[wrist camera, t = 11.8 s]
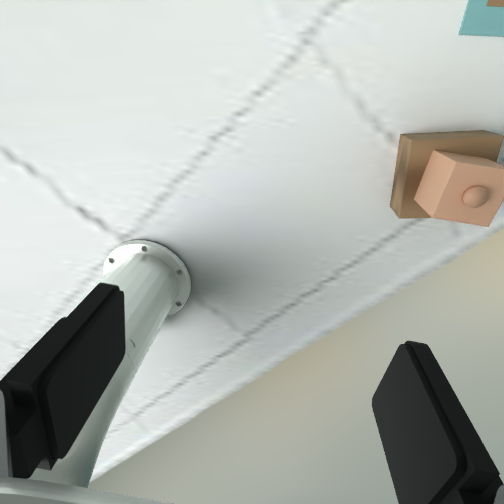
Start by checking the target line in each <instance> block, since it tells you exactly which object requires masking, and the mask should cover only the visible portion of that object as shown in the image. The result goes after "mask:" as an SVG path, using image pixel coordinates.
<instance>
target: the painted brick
mask: <svg viewBox="0 0 504 504" xmlns="http://www.w3.org/2000/svg"><path fill="white" fill-rule="evenodd" d="M503 199H504V165H501V164H499V163H497V162H494V161H492V160H489V159H487V158H482V157H476V156H469V155H463V154H456V153H450V152H443V151H436V150H433V152H432V154H431V157H430V159H429V162H428V164H427V167H426V169H425V172H424V174H423V177H422V180H421V182H420V185H419V187H418V190H417V192H416V195H415V197H414V200H415V201H416V202H417V203H418V204H419V205H420V206H421V207H422V208H423V209H424V210H425V211H426V212H427V213H428V214H429V215H430V216H431V217H432V218H437V219H443V220H449V221H455V222H461V223H468V224H474V225H480V226H486V227H489V225H490V223H491V221H492V219H493V218H494V216H495V214H496V212H497V210H498V208H499V206H500V205H501V203H502V201H503Z"/></svg>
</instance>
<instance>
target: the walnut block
mask: <svg viewBox="0 0 504 504" xmlns="http://www.w3.org/2000/svg"><path fill="white" fill-rule="evenodd" d="M503 137H504V136H502V135H499V134H495V133H491V132H488V131H484V130H477V131H457V132H437V133H417V134H400V141H399V148H398V155H397V161H396V168H395V175H394V182H393V189H392V196H391V203H390V207H391V208H392V210H393V211H394V212H395V214H396V215H397V216H398V217H399V218H432V217H431V216H430V215H429V214H428V213H427V212H426V211H425V210H424V209H423V208H422V207H421V206H420V205H419V204H418V203H417V202H416V201H415V200H414V197H415V195H416V192H417V190H418V187H419V185H420V182H421V180H422V177H423V174H424V172H425V169H426V167H427V164H428V162H429V159H430V157H431V154H432V152H433V150H436V151H443V152H450V153H456V154H463V155H469V156H476V157H482V158H487V159H489V160H492V161H494V162H496V161H497V157H498V154H499V150H500V147H501V144H502V140H503Z"/></svg>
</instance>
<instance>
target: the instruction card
mask: <svg viewBox="0 0 504 504" xmlns="http://www.w3.org/2000/svg"><path fill="white" fill-rule="evenodd" d="M459 35H478V36H503V37H504V0H469V1H468V5H467V8H466V11H465V15H464V18H463V21H462V25H461V28H460V32H459Z"/></svg>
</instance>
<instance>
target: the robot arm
mask: <svg viewBox="0 0 504 504" xmlns="http://www.w3.org/2000/svg"><path fill="white" fill-rule="evenodd" d="M190 291H191V280H190V275H189V273H188V270H187V268H186V267H185V265H184V263H183V262H182V261H181V260H180V259H179V257H178V256H177V255H175V254H174V253H173V252H172V251H170V250H169V249H167V248H166V247H164V246H162V245H159V244H157V243H154V242H150V241H146V240H133V241H127V242H125V243H122V244H120V245H119V246H117V247H115V248H114V249H113V250H112V251H111V252H110V253H109V255H108V256H107V257H106V259H105V262H104V265H103V278H102V279H101V280H100V281H99V282H98V283H97V284H96V285H95V286H94V287H93V288H92V289H91V290H90V291H89V292H88V293H87V294H86V295H85V297H84V298H83V299H82V300H81V301H80V302H79V303H78V304H77V305H76V306H75V307H74V308H73V309H72V310H71V311H70V312H69V313H68V314H67V315H66V316H65V317H64V318H61V319H60V320H59V321H58V322H57V323H56V324H55V325H54V326H53V327H52V328H51V329H50V330H49V331H48V332H47V333H46V334H45V335H44V336H43V337H42V338H41V339H40V340H39V341H38V342H37V343H36V344H35V345H34V346H33V347H32V349H31V350H30V351H29V352H28V353H27V354H26V355H25V356H24V357H23V358H22V359H21V360H20V361H19V362H18V363H17V364H16V365H15V366H14V367H13V368H12V369H11V370H10V371H9V372H8V373H7V374H6V375H5V376H4V378H3V379H2V380H1V381H0V504H173V503H167V502H162V501H157V500H151V499H146V498H140V497H135V496H129V495H124V494H119V493H113V492H108V491H102V490H96V489H90V488H88V485H89V482H90V479H91V476H92V472H93V469H94V466H95V463H96V460H97V457H98V454H99V452H100V449H101V446H102V443H103V441H104V438H105V436H106V433H107V431H108V429H109V426H110V424H111V422H112V420H113V418H114V415H115V413H116V411H117V409H118V407H119V405H120V403H121V401H122V399H123V397H124V395H125V393H126V392H127V390H128V388H129V386H130V384H131V382H132V380H133V378H134V376H135V374H136V373H137V371H138V369H139V367H140V365H141V363H142V361H143V359H144V357H145V356H146V354H147V352H148V350H149V348H150V346H151V344H152V342H153V340H154V339H155V337H156V335H157V333H158V331H159V329H160V327H161V325H162V324H163V322H164V320H165V318H166V316H168V315H171V314H173V313H175V312H177V311H179V310H180V309H181V308H182V307H183V306H184V304H185V303H186V302H187V299H188V297H189V295H190ZM372 408H373V412H374V416H375V419H376V423H377V426H378V429H379V433H380V437H381V441H382V444H383V448H384V452H385V455H386V459H387V463H388V466H389V470H390V473H391V477H392V480H393V484H394V488H395V491H396V495H397V499H398V502H399V504H504V484H503V482H502V480H501V479H500V477H499V474H500V473H499V471H498V470H497V468H496V466H495V464H494V462H493V461H492V459H491V457H490V455H489V453H488V452H487V450H486V448H485V446H484V444H483V443H482V441H481V439H480V437H479V435H478V434H477V432H476V430H475V429H474V427H473V425H472V423H471V421H470V419H469V418H468V416H467V414H466V412H465V410H464V409H463V407H462V405H461V403H460V402H459V400H458V398H457V396H456V394H455V393H454V391H453V389H452V387H451V385H450V384H449V382H448V380H447V378H446V376H445V375H444V373H443V371H442V369H441V368H440V366H439V364H438V362H437V360H436V359H435V357H434V355H433V353H432V351H431V350H430V348H429V346H428V345H427V344H424V343H418V342H413V341H406V342H405V344H401V345H400V346H399V347H398V349H397V351H396V353H395V355H394V357H393V359H392V361H391V362H390V364H389V366H388V368H387V370H386V372H385V374H384V376H383V378H382V380H381V382H380V384H379V386H378V388H377V390H376V392H375V394H374V396H373V398H372Z"/></svg>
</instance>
